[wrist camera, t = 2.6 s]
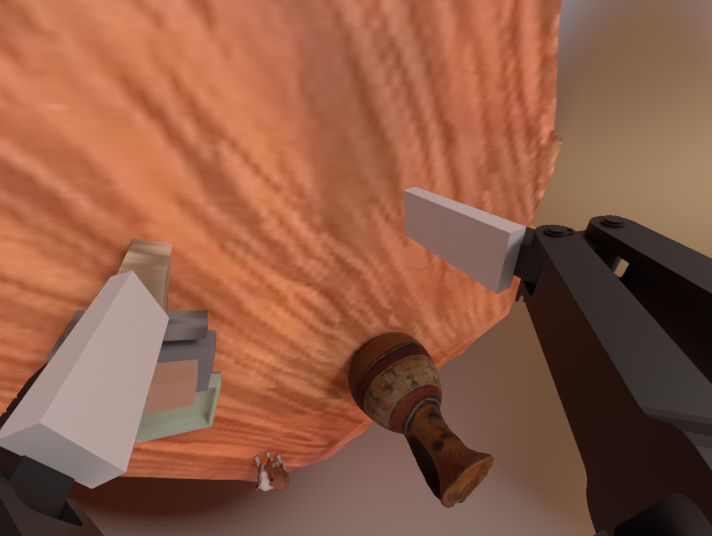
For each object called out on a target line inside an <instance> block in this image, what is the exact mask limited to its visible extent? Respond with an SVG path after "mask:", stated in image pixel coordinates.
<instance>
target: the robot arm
mask: <svg viewBox="0 0 712 536" xmlns="http://www.w3.org/2000/svg"><path fill="white" fill-rule="evenodd" d="M404 214H405V235H406V236H408V237H409V238H411V239H412V240H414V241H416V242H417V243H419V244H420V245H422V246H423V247H425V248H426V249H428V250H429V251H431V252H433V253H434V254H436V255H437V256H439V257H440V258H442V259H443V260H445V261H446V262H448V263H450V264H451V265H453V266H454V267H456V268H457V269H459V270H460V271H462V272H464V273H465V274H467V275H468V276H470V277H471V278H473V279H474V280H476V281H477V282H479V283H481V284H482V285H484V286H485V287H487V288H488V289H490V290H491V291H493V292H495V293H496V294H497V293H499V292H502V291H504V290H506V289H508V288H510V287H511V283H512V280H513V276H514V275H515V276H517V277H519V278H521V280H520V284H519V287H518V291H517V294H516V301H519V298H520V297H521V296H522V295H523V298H524V299H523V302H525V303H526V306H527V309H528V312H529V314H530V317H531V320H532V323H533V325H534V328H535V330H536V333H537V336H538V339H539V342H540V345H541V347H542V350H543V353H544V355H545V358H546V361H547V364H548V367H549V369H550V372H551V375H552V377H553V380H554V383H555V386H556V388H557V391H558V394H559V397H560V399H561V402H562V405H563V408H564V411H565V413H566V416H567V419H568V421H569V424H570V427H571V430H572V432H573V435H574V438H575V441H576V443H577V446H578V449H579V452H580V454H581V457H582V460H583V463H584V465H585V469H586V474H587V490H586V495H587V503H588V509H589V512H590V516H591V520H592V523H593V526H594V528H595V531H596V535H594V536H712V259H711V258H709V257H707V256H705V255H703V254H701V253H699V252H697V251H695V250H692V249H690V248H688V247H686V246H684V245H682V244H680V243H678V242H676V241H674V240H672V239H669V238H667V237H665V236H663V235H661V234H659V233H657V232H655V231H652V230H651V229H648V228H646V227H644V226H642V225H640V224H638V223H636V222H634V221H631V220H628V219H625V218H622V217H619V216H612V215H607V216H598V217H593V218H592V219H590V221H589V224H588V226H587V229H586V230H584V231H577V232H576V231H575V230H573V229H572V228H568V227H565V226H560V225H543V226H539V227H537V228H536V229H532V228H529V227H526V226H523V225H521V224H518V223H515V222H512V221H510V220H506V219H504V218H501V217H498V216H496V215H493V214H490V213H487V212H484V211H481V210H478V209H476V208H473V207H470V206H467V205H464V204H462V203H459V202H456V201H453V200H451V199H448V198H445V197H442V196H439V195H437V194H434V193H431V192H428V191H425V190H423V189H420V188H417V187H413V188H410V189H406V190H404ZM621 259H623V260H625V261H627V262H628V263H629V265H628V267H627V269H626V271H625V273H624V274H623V275H622V277H619V276H617V275H616V274H614V272H615V271H616V269H617V267H618V265H619V263H620V261H621ZM168 320H169V317H168V316H167V314H166V313H165V312H164V310H163V309H162V308H161V307H160V305H159V304H158V303H157V301H156V300H155V299H154V297H153V296H152V295H151V294H150V292H149V291H148V290H147V288H146V287H145V286H144V285H143V283H142V282H141V281H140V279H139V278H138V277H137V275H136V274H135V273H134V272H133V270H132V271H128V272H125V273H121V274H118V275H115V276H111V277H110V278H109V280H108V281H107V283H106V284H105V285H104V287H103V288H102V290H101V291H100V292H99V294H98V295H97V296H96V298H95V299H94V301H93V302H92V303H91V305H90V306H89V308H88V309H87V310H86V312H85V313H84V315H83V316H82V317H81V319H80V320H79V321H78V323H77V324H76V326H75V327H74V328H73V330H72V331H71V333H70V334H69V335H68V337H67V338H66V339H65V341H64V342H63V344H62V345H61V346H60V348H59V349H58V351H57V352H56V353H55V355H54V356H53V357H52V359H51V360H50V362H47V363H46V364H45V365H44V366H43V367H42V368H41V369H40V370H39V371H37V372H36V373H35V374H34V375H33V376H32V377H31V378H30V379H29V380H28V381H27V382H26V384H25V385H24V386H23V388H22V389H21V390H20V392H19V393H18V394H17V398H15V399H14V400H13V401H12V402H11V404H10V405H9V406H8V408H7V409H6V410H7V412H5V413H3V414H2V416H1V417H0V536H104V535H103V534H102V533H101V531H100V530H99V529H98V528H97V527H96V525H95V524H94V523H93V521H92V520H91V519H90V518H89V516H88V515H87V514H86V513H85V511H84V510H83V509H82V508H81V506H80V505H79V504H78V503H77V502H75V501H72V500H70V499H68V498H67V497H68V494H69V492H70V489H71V487H72V485H73V483H74V481H77V482H79V483H81V484H83V485H85V486H87V487H89V488H94V487H96V486H98V485H100V484H102V483H104V482H107V481H109V480H111V479H113V478H115V477H117V476H119V475H121V474H123V473H125V472H126V470H127V467H128V463H129V459H130V456H131V452H132V449H133V445H134V442H135V438H136V434H137V431H138V427H139V424H140V420H141V417H142V413H143V409H144V406H145V402H146V399H147V395H148V392H149V388H150V384H151V381H152V377H153V374H154V370H155V367H156V363H157V359H158V356H159V352H160V349H161V345H162V342H163V338H164V334H165V331H166V327H167V324H168Z"/></svg>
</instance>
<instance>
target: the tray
mask: <svg viewBox="0 0 712 536" xmlns="http://www.w3.org/2000/svg"><path fill="white" fill-rule="evenodd" d="M220 388H221V372H214V373H211V376H210V381H209V386H208V391H202V392H195V398H194V403H193V405H191V406H185V407H180V408H174V409H168V410H163V411H157V412H151V413H147V401H148V400H146V402H145V406H144V409H143V413H142V417H141V420H140V424H139V427H138V431H137V434H136V438H135V442H134V444H136V443H140V442H145V441H149V440H154V439H158V438H162V437H167V436H171V435H176V434H180V433H185V432H189V431H193V430H198V429H202V428H207V427H211V426H212V424H213V419H214V415H215V410H216V406H217V401H218V397H219V392H220Z"/></svg>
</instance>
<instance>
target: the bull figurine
mask: <svg viewBox="0 0 712 536" xmlns="http://www.w3.org/2000/svg"><path fill="white" fill-rule="evenodd" d="M265 454H266V456H267V465H266V464H262V465H261V464H260V462H259V457H258V456H255V457H254V459H255V460H256V462H257V467H258V482H259V485H257V486H256V487H255V488H254V491H257V490H258V489H259V488H261V489H262V490H263V491H267V490H270V489H272V490H278V491H282V490H283V491H285V490H287V486H288V485H289V478H288V474H287V472H286V467H285V465H284V463H283V462H281V456H280V454H277V455H276V458H277V460H278V461H279V465H280V468H279V467H278V466H276V464H275V461H273V462H272V463H271V461H270V453H269V451H267V452H266V453H265Z"/></svg>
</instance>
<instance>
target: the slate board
mask: <svg viewBox="0 0 712 536" xmlns="http://www.w3.org/2000/svg"><path fill="white" fill-rule="evenodd" d="M63 342H64V340H63V337H60V338H59V340H58V342H57V343H56V345H55V347H54V348H53V350H52V352H51V353H50V355H49V357H48V358H47V362H50V360H51V359H52V357H53V356H54V355H55V353H56V352H57V351H58V349H59V348H60V346H61V345H62V344H63ZM215 351H216V336H215V331H207V336H206V339H190V340H172V341H163V342H162V345H161V349H160V352H159V356H158V359H157V363H163V362H174V361H185V360H196V359H198V380H197V386H196V392H202V391H208V386H209V381H210V376H211V371H212V366H213V361H214V356H215ZM146 400H148V395H147V399H146Z"/></svg>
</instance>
